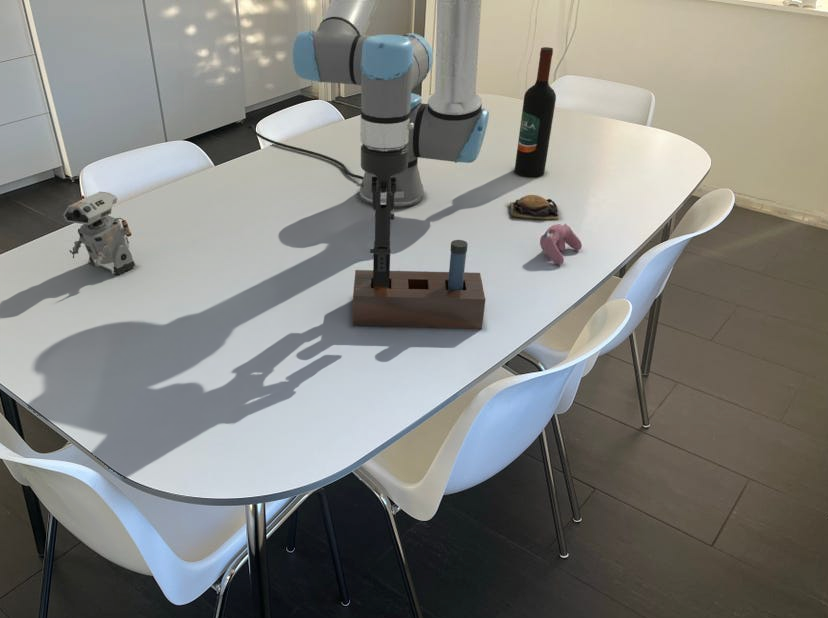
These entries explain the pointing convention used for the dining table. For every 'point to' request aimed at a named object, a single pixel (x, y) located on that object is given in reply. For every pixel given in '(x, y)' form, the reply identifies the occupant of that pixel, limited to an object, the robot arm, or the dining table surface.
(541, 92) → the wine bottle
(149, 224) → the dining table surface
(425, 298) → the rack
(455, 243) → the smoke-blue tube
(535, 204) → the bread roll
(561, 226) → the video game controller
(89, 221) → the figurine
